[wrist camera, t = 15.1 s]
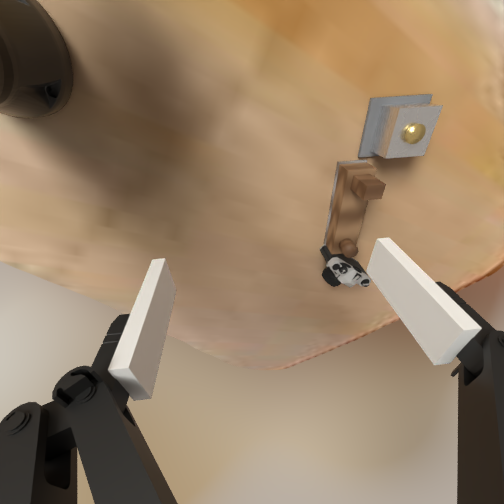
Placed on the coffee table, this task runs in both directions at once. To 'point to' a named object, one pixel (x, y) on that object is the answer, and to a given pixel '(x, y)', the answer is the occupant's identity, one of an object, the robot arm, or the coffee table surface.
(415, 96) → the felt mat
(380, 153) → the grey gold knob block
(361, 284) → the camera
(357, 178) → the plane body
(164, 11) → the coffee table surface
